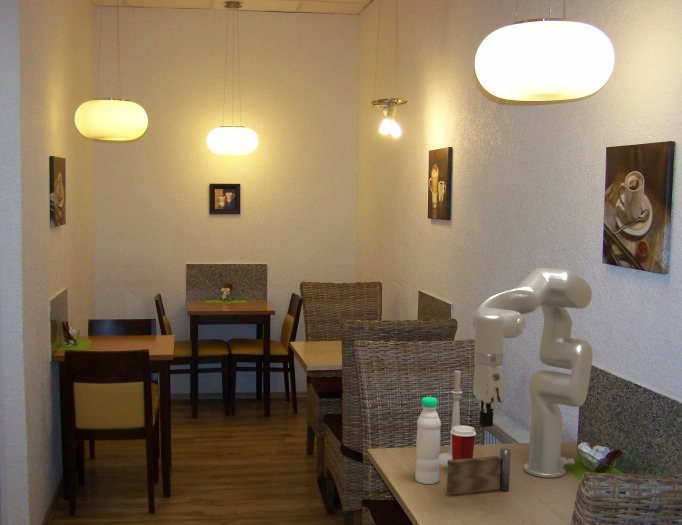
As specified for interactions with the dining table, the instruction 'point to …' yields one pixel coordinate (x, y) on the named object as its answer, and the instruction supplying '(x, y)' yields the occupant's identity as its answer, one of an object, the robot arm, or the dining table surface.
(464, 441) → the paper cup
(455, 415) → the candlestick
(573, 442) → the dining table surface
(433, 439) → the water bottle
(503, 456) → the gate posts
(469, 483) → the gate
